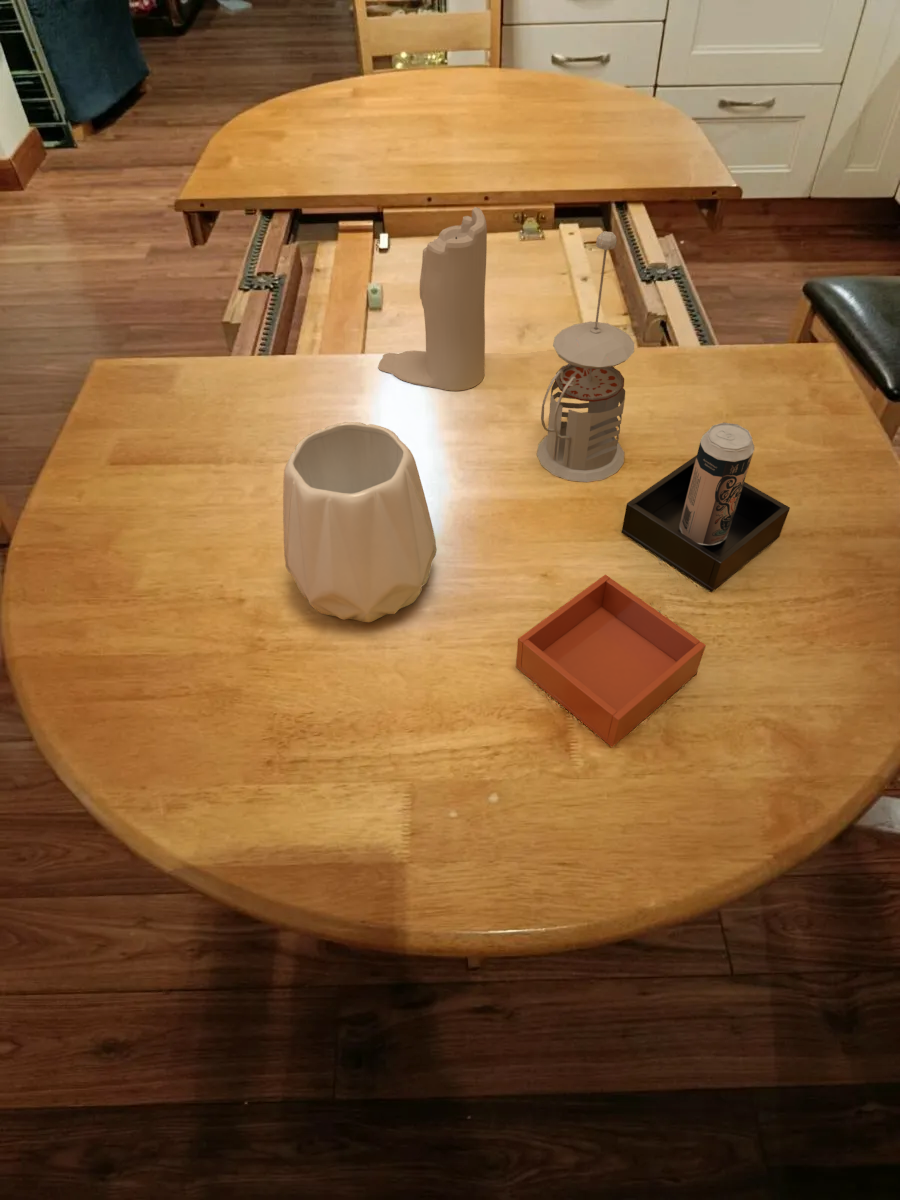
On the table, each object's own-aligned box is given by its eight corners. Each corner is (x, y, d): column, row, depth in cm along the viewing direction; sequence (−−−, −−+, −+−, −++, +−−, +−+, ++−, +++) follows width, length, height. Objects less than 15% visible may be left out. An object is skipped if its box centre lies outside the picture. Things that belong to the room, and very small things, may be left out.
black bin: (779, 537, 85) (790, 507, 82) (711, 592, 81) (720, 563, 78) (689, 484, 91) (697, 454, 88) (621, 532, 86) (626, 503, 83)
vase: (330, 659, 76) (306, 536, 65) (269, 563, 84) (238, 439, 73) (464, 598, 81) (463, 474, 69) (394, 513, 89) (383, 389, 77)
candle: (389, 346, 110) (377, 188, 95) (491, 364, 107) (495, 203, 92) (368, 376, 106) (352, 215, 91) (474, 395, 103) (475, 232, 88)
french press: (642, 451, 95) (684, 230, 76) (578, 502, 89) (607, 277, 71) (572, 416, 100) (596, 199, 81) (508, 463, 94) (517, 241, 75)
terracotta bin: (696, 673, 74) (706, 645, 71) (612, 747, 69) (618, 720, 66) (600, 603, 80) (605, 574, 77) (515, 667, 75) (517, 638, 72)
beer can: (716, 555, 83) (746, 458, 74) (671, 538, 85) (694, 441, 76) (733, 527, 86) (764, 430, 77) (689, 510, 88) (714, 414, 79)
